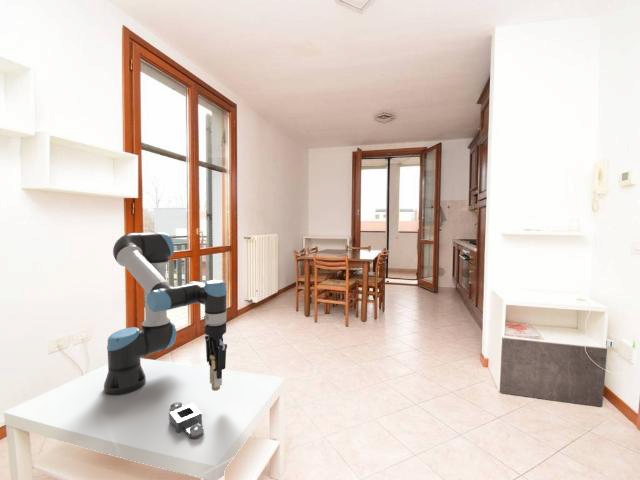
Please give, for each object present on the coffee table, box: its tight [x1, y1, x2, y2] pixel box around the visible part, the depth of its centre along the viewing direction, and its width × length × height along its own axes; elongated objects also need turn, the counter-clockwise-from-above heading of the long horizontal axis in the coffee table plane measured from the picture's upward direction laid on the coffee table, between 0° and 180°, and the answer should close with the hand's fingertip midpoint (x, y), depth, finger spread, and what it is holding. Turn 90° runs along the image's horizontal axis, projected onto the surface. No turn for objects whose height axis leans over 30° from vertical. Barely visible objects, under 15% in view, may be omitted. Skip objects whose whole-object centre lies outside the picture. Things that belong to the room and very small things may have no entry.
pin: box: [210, 354, 221, 392], centre depth 120 cm, size 4×4×13 cm
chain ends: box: [168, 401, 205, 440], centre depth 111 cm, size 22×8×4 cm, turn 43°
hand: (215, 383), depth 120 cm, fingers closed on pin, 3 cm apart
